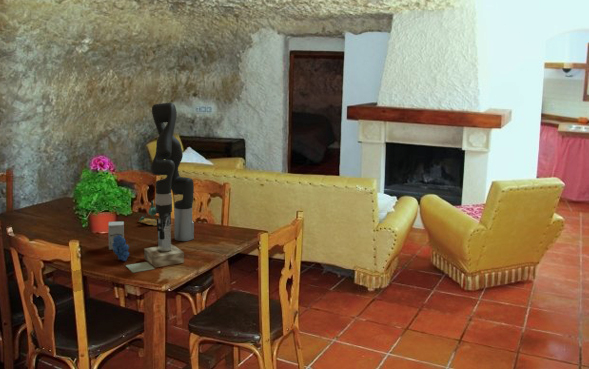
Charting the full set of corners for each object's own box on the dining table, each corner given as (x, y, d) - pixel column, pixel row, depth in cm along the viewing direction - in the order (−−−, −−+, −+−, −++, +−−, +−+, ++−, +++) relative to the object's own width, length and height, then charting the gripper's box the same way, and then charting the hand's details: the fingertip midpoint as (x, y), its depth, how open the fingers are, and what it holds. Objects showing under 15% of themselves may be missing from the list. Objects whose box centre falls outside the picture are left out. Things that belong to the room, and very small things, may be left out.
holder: (172, 254, 286) (172, 244, 285) (183, 262, 275) (183, 252, 274) (144, 258, 278) (144, 248, 278) (155, 267, 267) (155, 256, 266)
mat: (146, 262, 273) (146, 261, 273) (154, 269, 265) (154, 268, 265) (125, 266, 268) (125, 265, 267) (133, 272, 259) (132, 271, 259)
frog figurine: (147, 219, 348) (149, 195, 344) (168, 228, 338) (170, 203, 335) (134, 222, 340) (136, 198, 336) (155, 231, 331) (157, 206, 327)
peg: (167, 247, 279) (166, 223, 276) (171, 250, 275) (170, 225, 273) (158, 249, 276) (157, 224, 274) (161, 251, 273) (161, 226, 270)
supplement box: (108, 250, 289) (107, 225, 287) (109, 245, 296) (108, 221, 294) (124, 249, 291) (123, 224, 289) (124, 244, 298) (123, 220, 296)
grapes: (105, 259, 276) (105, 234, 274) (118, 256, 281) (117, 231, 279) (120, 265, 269) (119, 240, 266) (132, 261, 274) (132, 237, 271)
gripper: (160, 198, 278) (161, 232, 282) (150, 205, 264) (151, 241, 268) (176, 199, 278) (176, 233, 281) (166, 206, 264) (167, 242, 267)
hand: (164, 236), depth 275 cm, fingers closed on peg, 6 cm apart
